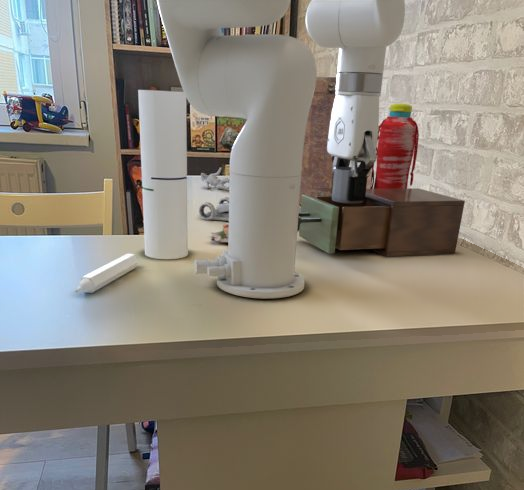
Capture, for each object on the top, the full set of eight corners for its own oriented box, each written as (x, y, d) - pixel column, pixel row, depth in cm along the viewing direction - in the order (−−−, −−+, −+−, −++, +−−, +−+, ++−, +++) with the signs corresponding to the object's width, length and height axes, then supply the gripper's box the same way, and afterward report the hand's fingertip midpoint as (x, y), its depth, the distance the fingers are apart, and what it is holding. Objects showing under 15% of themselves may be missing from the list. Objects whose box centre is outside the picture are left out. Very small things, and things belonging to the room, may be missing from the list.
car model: (219, 211, 132) (219, 189, 130) (316, 224, 123) (318, 201, 121) (194, 218, 122) (194, 195, 120) (297, 233, 113) (299, 208, 111)
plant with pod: (266, 248, 101) (272, 129, 93) (205, 243, 102) (205, 126, 94) (271, 238, 108) (277, 127, 100) (214, 234, 109) (215, 124, 101)
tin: (340, 203, 97) (343, 170, 95) (326, 198, 102) (329, 166, 100) (369, 203, 99) (372, 170, 96) (354, 197, 104) (357, 166, 101)
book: (341, 203, 149) (354, 79, 137) (335, 209, 141) (348, 77, 129) (251, 195, 156) (256, 76, 144) (241, 200, 148) (244, 74, 136)
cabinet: (386, 256, 99) (394, 201, 95) (348, 238, 112) (354, 188, 108) (455, 253, 104) (465, 200, 100) (411, 235, 116) (418, 188, 112)
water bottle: (347, 226, 123) (360, 101, 112) (356, 220, 129) (369, 102, 119) (402, 232, 118) (421, 104, 108) (409, 226, 125) (427, 104, 115)
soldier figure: (222, 195, 159) (190, 177, 163) (226, 205, 164) (195, 187, 168) (238, 175, 161) (206, 158, 164) (241, 185, 165) (210, 168, 169)
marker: (75, 304, 72) (130, 270, 86) (87, 298, 71) (141, 264, 85) (64, 286, 71) (121, 255, 86) (76, 280, 71) (132, 249, 85)
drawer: (300, 254, 94) (303, 207, 91) (273, 236, 106) (275, 194, 102) (396, 250, 100) (403, 206, 97) (361, 233, 111) (365, 193, 108)
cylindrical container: (179, 260, 91) (176, 91, 80) (138, 256, 92) (130, 89, 81) (193, 250, 97) (192, 92, 87) (154, 246, 98) (149, 90, 88)
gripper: (316, 85, 99) (309, 190, 106) (363, 85, 84) (350, 206, 92) (354, 87, 101) (344, 189, 109) (406, 87, 86) (390, 205, 94)
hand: (347, 196), depth 100 cm, fingers closed on tin, 5 cm apart
